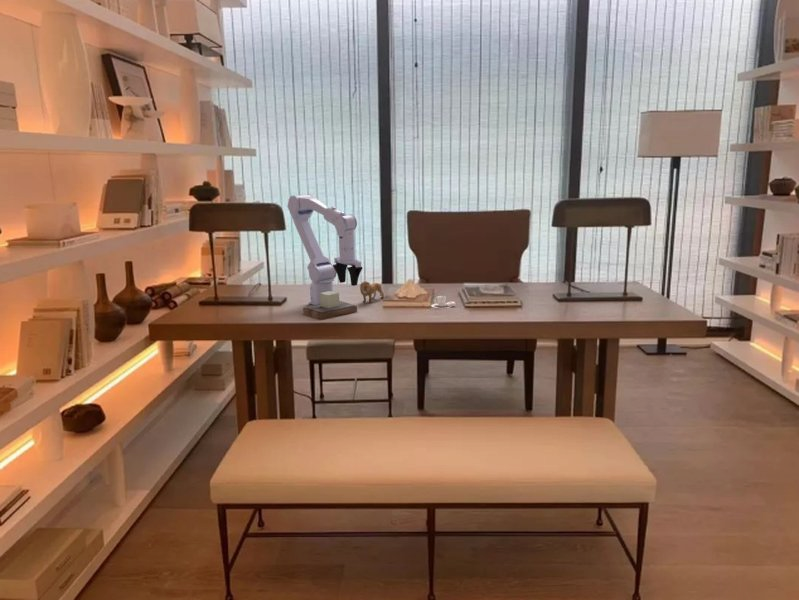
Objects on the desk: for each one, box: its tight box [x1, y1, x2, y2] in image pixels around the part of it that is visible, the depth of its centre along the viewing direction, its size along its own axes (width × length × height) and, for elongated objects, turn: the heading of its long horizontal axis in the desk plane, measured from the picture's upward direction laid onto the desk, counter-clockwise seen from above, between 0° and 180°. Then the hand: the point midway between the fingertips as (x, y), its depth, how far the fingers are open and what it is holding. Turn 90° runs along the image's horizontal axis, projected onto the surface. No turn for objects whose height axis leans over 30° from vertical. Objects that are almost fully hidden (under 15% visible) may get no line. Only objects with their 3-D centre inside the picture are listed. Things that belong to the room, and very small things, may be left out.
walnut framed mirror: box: [302, 300, 358, 321], centre depth 235 cm, size 12×16×2 cm
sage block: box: [320, 290, 340, 308], centre depth 234 cm, size 5×5×5 cm
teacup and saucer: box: [431, 295, 456, 309], centre depth 241 cm, size 9×8×4 cm
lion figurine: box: [359, 280, 385, 304], centre depth 252 cm, size 15×5×9 cm, turn 153°
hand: (348, 283), depth 237 cm, fingers open, 7 cm apart
